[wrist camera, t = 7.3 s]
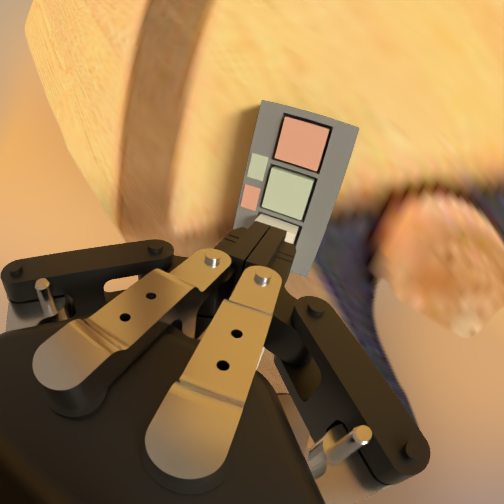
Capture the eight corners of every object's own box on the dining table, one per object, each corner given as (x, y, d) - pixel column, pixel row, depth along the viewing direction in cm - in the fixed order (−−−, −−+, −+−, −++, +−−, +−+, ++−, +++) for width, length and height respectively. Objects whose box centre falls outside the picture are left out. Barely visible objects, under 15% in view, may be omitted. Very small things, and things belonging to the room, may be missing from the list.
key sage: (304, 213, 28) (301, 220, 26) (267, 201, 28) (261, 206, 27) (315, 177, 26) (313, 181, 24) (276, 164, 26) (271, 167, 25)
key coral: (319, 168, 25) (316, 171, 23) (279, 155, 26) (274, 158, 24) (330, 129, 23) (329, 129, 21) (289, 116, 24) (285, 116, 22)
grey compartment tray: (311, 262, 32) (306, 278, 29) (239, 236, 33) (228, 248, 30) (357, 127, 24) (359, 128, 21) (271, 102, 25) (261, 99, 22)
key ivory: (287, 260, 29) (283, 269, 28) (252, 247, 30) (246, 255, 28) (299, 226, 27) (295, 234, 25) (261, 213, 28) (254, 220, 26)
